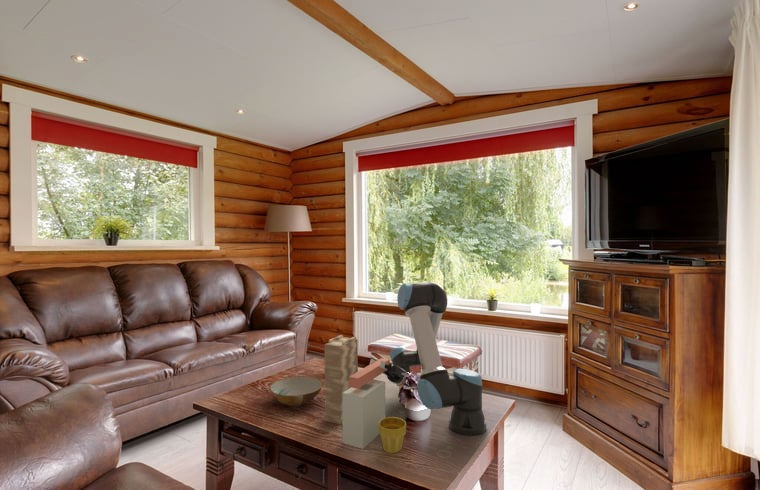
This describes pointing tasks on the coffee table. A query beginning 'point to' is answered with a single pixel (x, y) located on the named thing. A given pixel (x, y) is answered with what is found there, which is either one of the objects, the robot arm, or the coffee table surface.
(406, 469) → the coffee table surface
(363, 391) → the pale green paneled block
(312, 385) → the bowl
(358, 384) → the coral square-faced block
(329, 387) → the birch stand
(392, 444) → the plant pot
